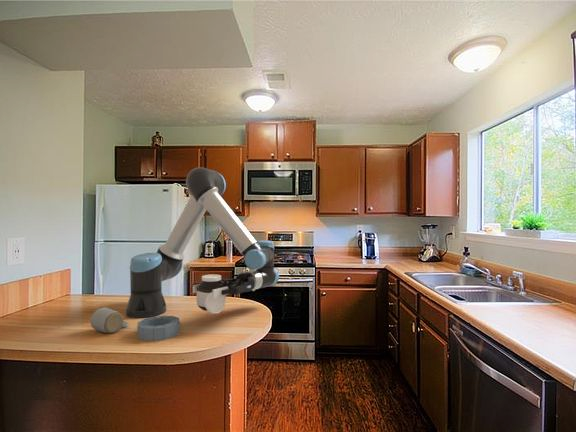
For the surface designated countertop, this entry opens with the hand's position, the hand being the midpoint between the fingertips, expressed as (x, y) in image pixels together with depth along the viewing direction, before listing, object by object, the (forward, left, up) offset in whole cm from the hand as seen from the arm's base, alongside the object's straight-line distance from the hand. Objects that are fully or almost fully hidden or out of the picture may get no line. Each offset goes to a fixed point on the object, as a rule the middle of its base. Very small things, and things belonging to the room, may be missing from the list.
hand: (203, 291), depth 115 cm
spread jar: (+1, +4, -7) cm, 8 cm away
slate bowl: (-8, -12, -13) cm, 19 cm away
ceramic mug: (-25, -20, -13) cm, 34 cm away
